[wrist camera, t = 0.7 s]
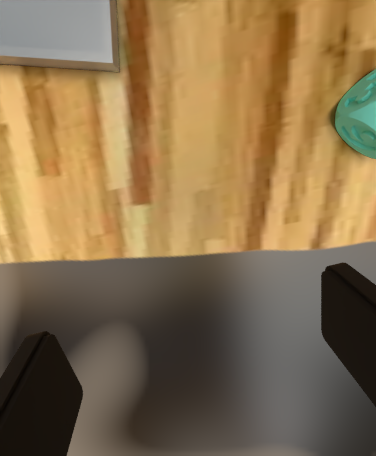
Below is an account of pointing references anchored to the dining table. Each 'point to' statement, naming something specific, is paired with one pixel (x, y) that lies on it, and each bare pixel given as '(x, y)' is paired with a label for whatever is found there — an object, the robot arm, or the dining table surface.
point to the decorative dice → (359, 116)
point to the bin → (60, 34)
